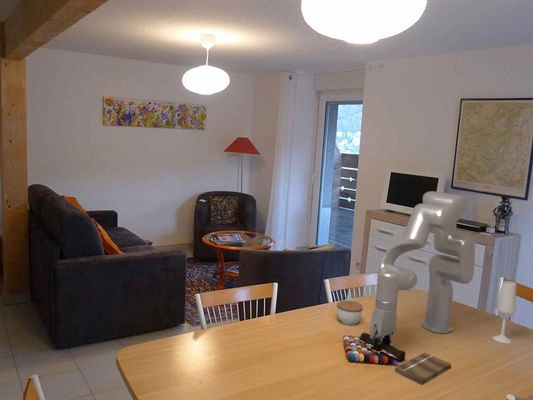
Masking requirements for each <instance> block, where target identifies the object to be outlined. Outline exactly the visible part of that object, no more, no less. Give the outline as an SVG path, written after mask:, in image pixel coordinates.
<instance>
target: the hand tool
mask: <svg viewBox="0 0 533 400" xmlns="http://www.w3.org/2000/svg"><path fill="white" fill-rule="evenodd" d="M370 336H371V333H367V332H363V333H361V335H360V337H359V341H360V340H362V341H364V342H366V343H368V344H371V345H373V346H374V342H373V340H372V339H371V338H370ZM381 344H382V349H383V350H385V351H387V352H389V353H391V354H393V355H394V356H395V357H396V358H397V359H398V360H397V359H396V360H397V362H398V363H403V362H404V360H406V353H407V352H406V351H405V350H400V349H398V348H397V347H394V346H393V345H390V346H389V345H387V344H385V343H383V342H381Z"/></svg>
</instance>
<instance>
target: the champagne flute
mask: <svg viewBox="0 0 533 400" xmlns="http://www.w3.org/2000/svg"><path fill="white" fill-rule="evenodd" d="M516 300H517V283H516V282H513V281H508V280H505V281H504V280H503V281H502V284H501V289H500V293H499V297H498V299H497V304H496V309H497V312H498V313H499V314H500V316H502V324H501V332H500V334H498V335H495V336H492V339H493V340H494V341H496V342H498V343H501V344H511V343H512V341H511V339H509V338H508V337H506V336H505V330H506V324H507V318H509V317H511V316H513V315H514V314H515V313H516V305H517V304H516V303H517V301H516Z"/></svg>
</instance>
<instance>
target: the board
mask: <svg viewBox="0 0 533 400" xmlns="http://www.w3.org/2000/svg"><path fill="white" fill-rule="evenodd" d="M451 365H452V364H451V363H450V362H448V361H446V360H444V359H441V358H439V357H436V356H435V355H433V354H429V353H428V352H423V353H421V354H419V355H417V356H415V357H413V358H411V359H409V360H407V361H406V362H404V363H403V362H402V363H401V364H399V365H397V366H396V367H395V368H394V373H397V374H398V375H401V376H403V377H405V378H407V379H409V380H410V381H413V382H415V383H417V384H420V385H423V384H425V383H427V382H429V381H430V380H432V379H433V378H436V377H437V376H438V375H439V376H440V375H441V374H442V373H444V372H445V371H447V370H449V369H451Z"/></svg>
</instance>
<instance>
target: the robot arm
mask: <svg viewBox="0 0 533 400" xmlns="http://www.w3.org/2000/svg"><path fill="white" fill-rule="evenodd" d="M468 208H469V202H468V199H467V198H466V197H465V196H463V195H460V194H456V193H447V192H440V191H433V190H431V191H427V192H425V193H424V194H423V195H422V203H418V204H416V205H415V206H414V208H413V210H412V212H411V214H410V217H409V220H408V223H407V225H406V228H405V231H404V233H403V235H402V238H401V239H400V240H398V241H396V242H394V243H393V244H392V245H391V246H390V247H389V248H388V249H387V250H386V251H385V253H384V254H383V256H382V259H381V261H380V264H379V267H378V271H377V283H376V291H375V293H376V294H375V302H374V303H375V304H374V308H373V311H372V315H371V320H370V327H369V334H370V335H371V336H370V338H371V339H372V340H373V342H374V347H373V348H372V350H373V349H374V350H376V351H382V344H381V342H383V343H385V344H387V345H389V346H391V344H392V343H391V342H392V339H393V335H394V333H395V331H396V330H397V328H396V326H397V325H396V324H397V309H398V308H397V305H398V296H399V291H407V290H408V291H409V290H412V289H413V288H414V287H415V286H416V284H417V282H418V277H417V274H416V273H415V272H414V271H413V270H411V269H410V268H409V269H408V268H404V267H401V266H398V265H395V261H396V260H397V259H398V258H399V256H401V255H402V254H405V253H408V252H410V251H415V250H421V249H423V248H425V246H426V243H427V241H428V238H429V235H430V232H431V230H432V229H433V249H435V250H436V251H437V252H439V253H440V254H439V253H438V254H434V255H432V256H431V258H430V259H429V261H428V273H429V282H428V283H429V284H428V291H427V292H428V293H427V301H426V302H427V304H426V311H425V319H422V320H421V322H420V325H421V327H422V328H423V329H425V330H427V331H429V332H432V333H437V334H449V333H451V332H452V331H453V328H454V327H453V326H452V325H451V324H450V321H451V320H453V319H454V317H453V315H451V311H452V302H453V295H454V294H453V293H454V287H453V283H452V282H456V283H459V284H463V285H465V284H466V285H467V284H469V283H471V281H472V280H473V277H474V272H475V261H476V260H475V259H476V258H475V257H476V243H475V240H474V238H473V237H472V236H471V235H470V234H467V233H462V232H458V231H457V221H459V220H460V219H462V218H463V217H464V216H465V214H466V213H467V211H468Z"/></svg>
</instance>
